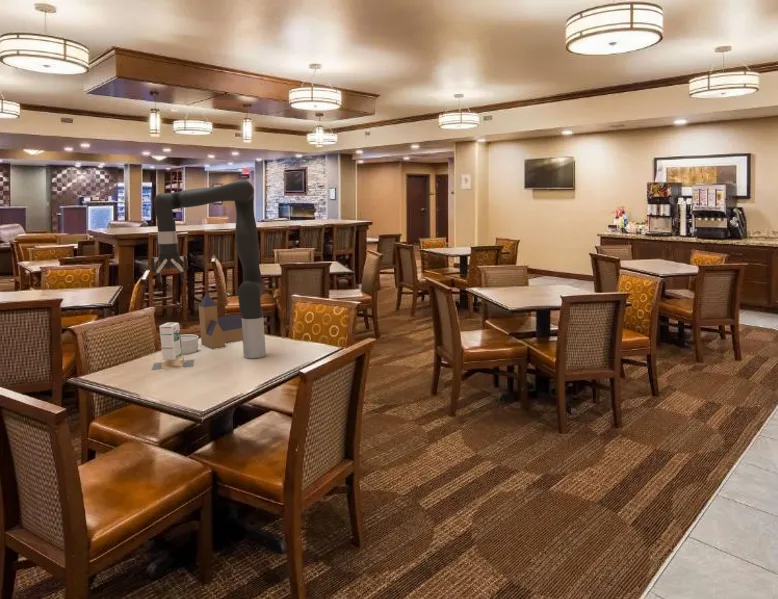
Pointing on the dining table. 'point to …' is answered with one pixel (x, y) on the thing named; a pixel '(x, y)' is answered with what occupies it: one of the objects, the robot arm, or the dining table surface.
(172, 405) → the dining table surface
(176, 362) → the maple slab
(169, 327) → the syrup box
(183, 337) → the ramekin
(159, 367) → the build mat
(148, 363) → the dining table surface
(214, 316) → the toy church
